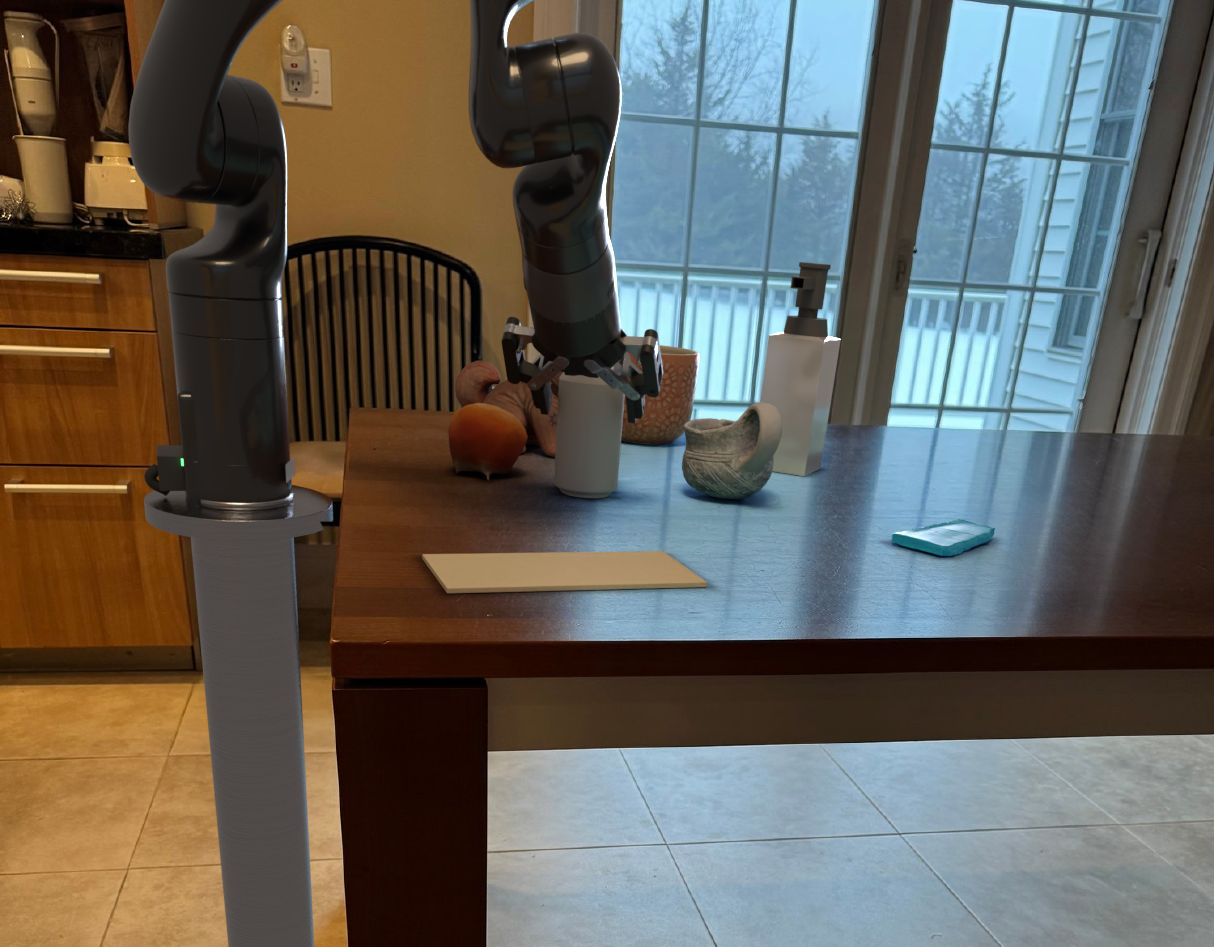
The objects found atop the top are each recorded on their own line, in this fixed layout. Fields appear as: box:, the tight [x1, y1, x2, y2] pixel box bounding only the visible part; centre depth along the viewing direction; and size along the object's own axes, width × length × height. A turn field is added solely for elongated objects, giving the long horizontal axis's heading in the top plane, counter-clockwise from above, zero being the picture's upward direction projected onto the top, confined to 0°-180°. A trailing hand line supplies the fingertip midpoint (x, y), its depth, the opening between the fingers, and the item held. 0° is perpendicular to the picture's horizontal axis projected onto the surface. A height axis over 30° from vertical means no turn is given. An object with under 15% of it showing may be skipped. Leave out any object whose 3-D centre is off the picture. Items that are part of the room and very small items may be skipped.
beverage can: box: [553, 366, 625, 499], centre depth 110 cm, size 6×6×12 cm
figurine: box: [454, 360, 563, 458], centre depth 129 cm, size 10×19×15 cm, turn 72°
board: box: [421, 550, 708, 594], centre depth 86 cm, size 20×9×1 cm, turn 109°
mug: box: [681, 402, 782, 500], centre depth 113 cm, size 10×12×10 cm
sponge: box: [891, 518, 996, 557], centre depth 105 cm, size 2×12×6 cm
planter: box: [621, 344, 701, 445], centre depth 142 cm, size 12×12×11 cm
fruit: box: [447, 403, 528, 482], centre depth 116 cm, size 8×8×8 cm
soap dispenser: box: [759, 261, 842, 477], centre depth 128 cm, size 6×9×22 cm
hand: (590, 411), depth 109 cm, fingers open, 8 cm apart
